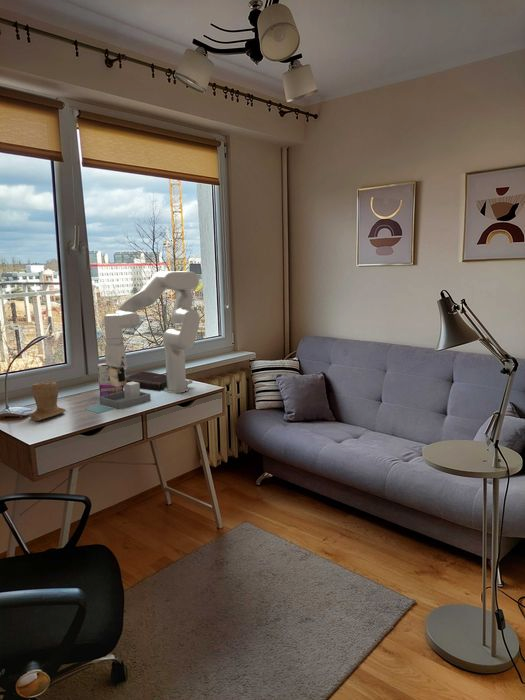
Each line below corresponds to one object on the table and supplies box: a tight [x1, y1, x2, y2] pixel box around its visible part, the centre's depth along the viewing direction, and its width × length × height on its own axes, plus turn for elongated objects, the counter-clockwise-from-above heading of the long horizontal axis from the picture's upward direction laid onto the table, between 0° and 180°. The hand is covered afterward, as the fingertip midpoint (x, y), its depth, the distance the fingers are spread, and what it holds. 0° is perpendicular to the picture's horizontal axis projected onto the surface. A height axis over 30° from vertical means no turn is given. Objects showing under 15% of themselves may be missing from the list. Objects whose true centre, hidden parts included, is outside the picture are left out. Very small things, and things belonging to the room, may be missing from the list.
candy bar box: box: [96, 362, 124, 398], centre depth 242 cm, size 11×5×16 cm, turn 112°
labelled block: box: [109, 367, 127, 387], centre depth 227 cm, size 5×5×8 cm
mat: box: [84, 404, 114, 415], centre depth 221 cm, size 8×10×1 cm
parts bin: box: [99, 390, 152, 410], centre depth 232 cm, size 18×15×4 cm
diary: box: [123, 370, 167, 392], centre depth 263 cm, size 19×25×5 cm
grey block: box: [123, 381, 141, 400], centre depth 234 cm, size 5×5×8 cm
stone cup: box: [28, 381, 67, 422], centre depth 212 cm, size 15×12×15 cm
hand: (118, 379), depth 227 cm, fingers closed on labelled block, 5 cm apart
